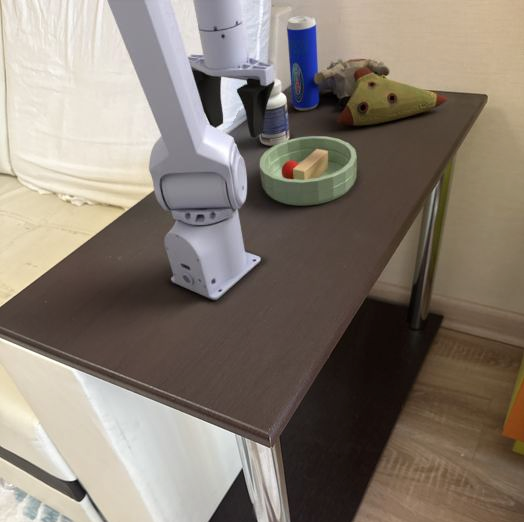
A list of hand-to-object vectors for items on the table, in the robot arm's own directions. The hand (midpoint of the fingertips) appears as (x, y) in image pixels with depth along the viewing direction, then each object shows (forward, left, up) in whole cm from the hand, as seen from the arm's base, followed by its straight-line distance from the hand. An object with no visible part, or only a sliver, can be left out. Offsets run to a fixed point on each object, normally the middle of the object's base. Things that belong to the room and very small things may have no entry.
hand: (236, 130), depth 76 cm
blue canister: (+30, +9, -10) cm, 33 cm away
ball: (+4, -6, -7) cm, 10 cm away
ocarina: (+30, -10, -9) cm, 33 cm away
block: (+6, -8, -9) cm, 14 cm away
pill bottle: (+16, +6, -10) cm, 20 cm away
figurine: (+31, -1, -4) cm, 31 cm away
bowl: (+6, -8, -9) cm, 14 cm away
